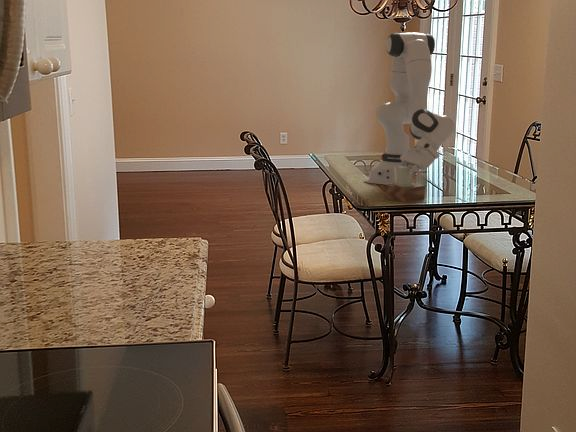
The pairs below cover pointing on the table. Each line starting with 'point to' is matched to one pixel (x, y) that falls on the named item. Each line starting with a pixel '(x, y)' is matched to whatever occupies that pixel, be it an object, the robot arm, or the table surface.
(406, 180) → the sage block
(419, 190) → the walnut riser
